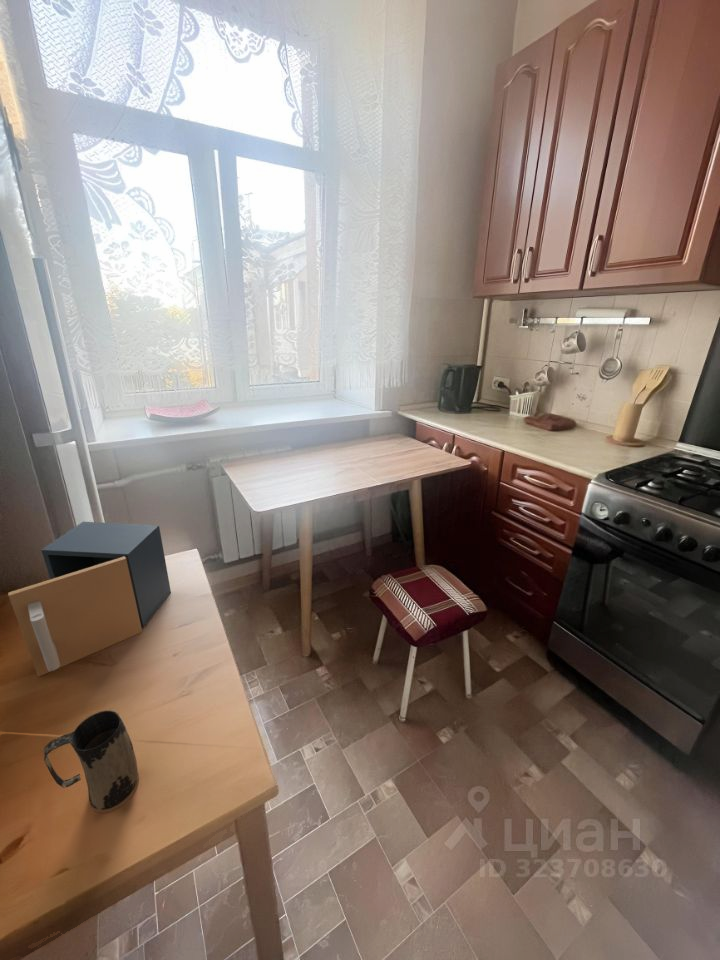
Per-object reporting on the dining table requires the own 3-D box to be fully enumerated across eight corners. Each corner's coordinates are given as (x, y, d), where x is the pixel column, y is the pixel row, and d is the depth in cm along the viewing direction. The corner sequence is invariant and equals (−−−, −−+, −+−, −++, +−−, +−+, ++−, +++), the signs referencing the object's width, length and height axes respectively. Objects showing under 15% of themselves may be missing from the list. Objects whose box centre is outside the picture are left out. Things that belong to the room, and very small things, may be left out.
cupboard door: (150, 648, 72) (134, 572, 66) (42, 698, 62) (10, 614, 56) (140, 629, 76) (124, 556, 70) (37, 673, 66) (8, 592, 60)
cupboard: (143, 628, 77) (127, 554, 71) (64, 624, 77) (40, 549, 71) (171, 592, 87) (159, 525, 81) (100, 589, 87) (83, 521, 81)
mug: (135, 756, 54) (118, 694, 50) (145, 791, 51) (127, 727, 46) (66, 795, 50) (40, 730, 45) (70, 837, 46) (42, 770, 41)
